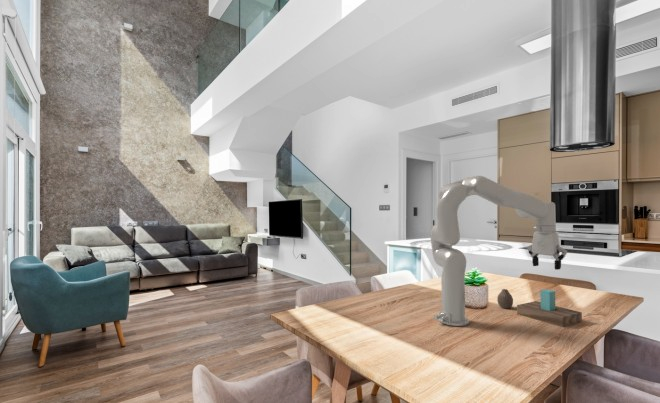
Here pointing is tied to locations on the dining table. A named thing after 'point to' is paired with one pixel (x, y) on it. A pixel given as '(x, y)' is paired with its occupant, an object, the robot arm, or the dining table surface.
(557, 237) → the robot arm
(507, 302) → the vase
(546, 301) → the peg
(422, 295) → the dining table surface
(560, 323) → the socket block
